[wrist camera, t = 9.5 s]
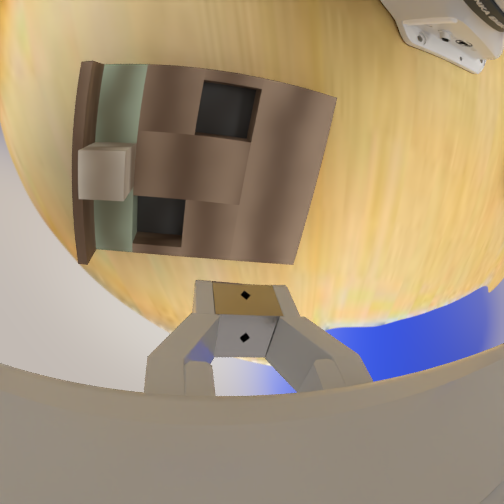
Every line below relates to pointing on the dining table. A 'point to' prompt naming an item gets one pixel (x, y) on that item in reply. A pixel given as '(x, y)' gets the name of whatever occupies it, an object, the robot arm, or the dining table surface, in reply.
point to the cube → (106, 171)
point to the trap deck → (200, 161)
